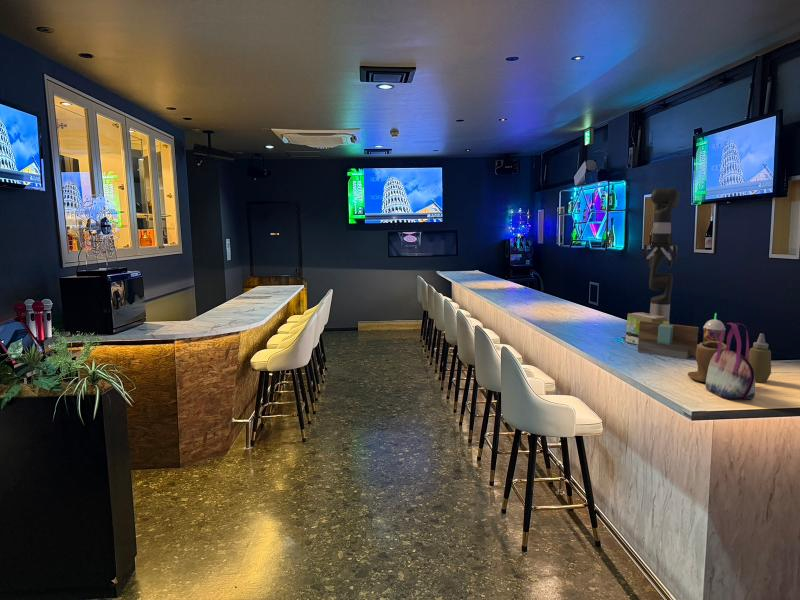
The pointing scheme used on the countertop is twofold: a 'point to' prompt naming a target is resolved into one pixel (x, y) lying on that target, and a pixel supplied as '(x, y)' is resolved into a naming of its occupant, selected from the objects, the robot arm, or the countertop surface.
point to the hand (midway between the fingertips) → (658, 267)
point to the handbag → (731, 370)
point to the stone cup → (704, 359)
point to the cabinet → (665, 333)
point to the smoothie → (713, 330)
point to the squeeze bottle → (760, 359)
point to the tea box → (634, 324)
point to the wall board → (680, 348)
